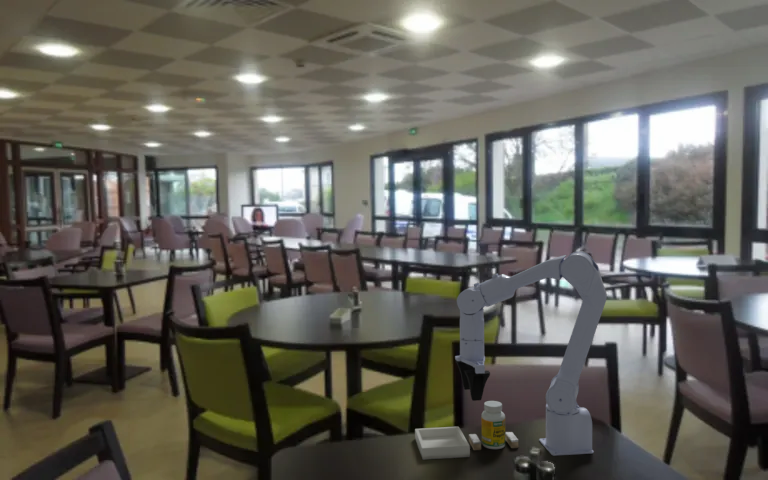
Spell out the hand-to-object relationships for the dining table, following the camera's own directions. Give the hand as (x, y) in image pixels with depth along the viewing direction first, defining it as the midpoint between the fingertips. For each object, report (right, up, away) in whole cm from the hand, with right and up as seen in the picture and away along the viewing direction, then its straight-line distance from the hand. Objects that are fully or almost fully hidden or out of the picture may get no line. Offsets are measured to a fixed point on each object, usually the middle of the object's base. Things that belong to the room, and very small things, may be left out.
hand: (472, 394), depth 130 cm
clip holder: (+4, -10, -6) cm, 12 cm away
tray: (-8, -10, -7) cm, 15 cm away
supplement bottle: (+4, -10, -6) cm, 12 cm away
